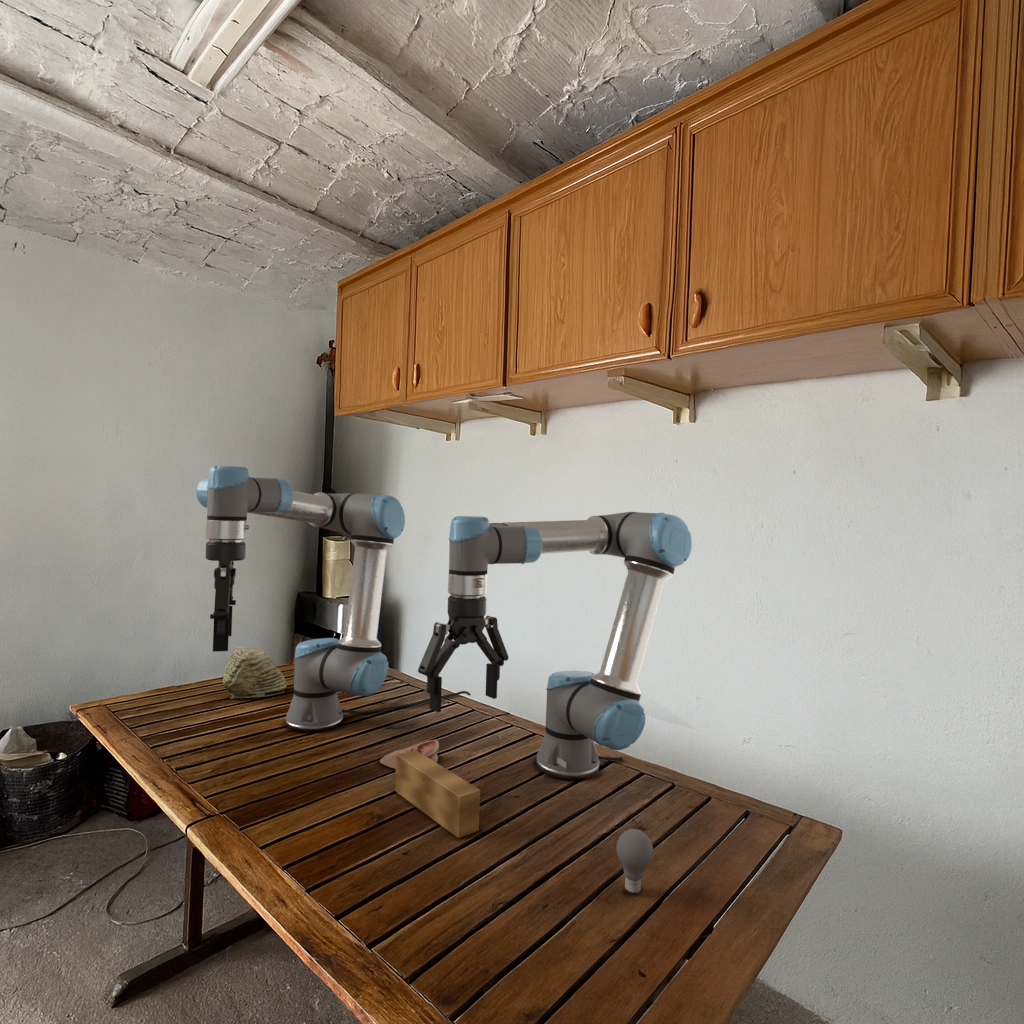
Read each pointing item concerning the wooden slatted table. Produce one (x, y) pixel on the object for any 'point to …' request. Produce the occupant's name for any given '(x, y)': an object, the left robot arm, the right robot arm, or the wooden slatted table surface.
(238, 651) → the fossil
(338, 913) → the wooden slatted table surface
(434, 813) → the bar
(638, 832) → the light bulb
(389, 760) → the anatomical model
